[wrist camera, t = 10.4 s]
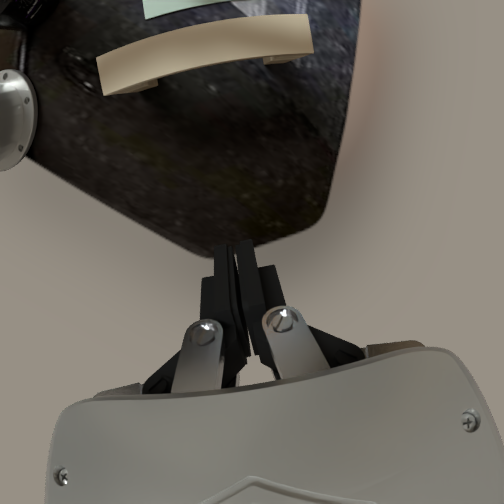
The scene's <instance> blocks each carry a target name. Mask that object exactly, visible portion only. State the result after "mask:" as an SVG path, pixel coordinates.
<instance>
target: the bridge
mask: <svg viewBox="0 0 504 504" xmlns="http://www.w3.org/2000/svg"><path fill="white" fill-rule="evenodd" d="M312 53H314V51H313V44H312V38H311V32H310V27H309V21H308V16H307V14H284V15H265V16H253V17H243V18H235V19H228V20H221V21H215V22H210V23H204V24H199V25H195V26H190V27H186V28H182V29H178V30H174V31H170V32H166V33H163V34H159V35H156V36H153V37H149V38H146V39H143V40H140V41H137V42H134V43H132V44H129V45H126V46H123V47H121V48H118V49H116V50H113V51H111V52H108V53H106V54H104V55H101V56H99V57H97V58H96V59H97V65H98V70H99V75H100V80H101V85H102V90H103V94H104V96H105V95H113V94H121V93H130V92H139V91H142V90H146V89H149V88H152V87H155V86H158V81H157V79H158V78H161V77H165V76H168V75H172V74H176V73H180V72H184V71H188V70H192V69H196V68H201V67H206V66H211V65H216V64H221V63H227V62H234V61H240V60H247V59H255V58H263V62H264V65H266V64H276V63H286V62H288V61H291V60H294V59H297V58H300V57H303V56H306V55H309V54H312Z"/></svg>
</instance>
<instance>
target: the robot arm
mask: <svg viewBox="0 0 504 504" xmlns="http://www.w3.org/2000/svg"><path fill="white" fill-rule="evenodd" d="M37 117H38V105H37V98H36V93H35V90H34V87H33V85H32V83H31V81H30V79H29V78H28V77H27V76H26V75H25V74H24V73H22V72H21V71H19V70H14V69H10V70H3V71H0V171H6V170H8V169H10V168H12V167H14V166H15V165H17V164H18V163H19V162H20V161H21V160H22V159H23V158H24V157H25V155H26V154H27V152H28V150H29V148H30V146H31V144H32V141H33V138H34V135H35V131H36V126H37ZM236 255H237V263H238V270H237V266H236V262H235V257H234V253H233V248H232V246H230V247H227V244H223V245H218V246H214V276H210V277H204V278H202V284H201V304H200V320H199V321H197V322H195V323H193V324H192V325H190V327H189V328H188V329H187V330H186V333H185V336H184V339H183V343H182V348H181V350H180V351H179V352H177V353H176V354H175V355H174V356H173V357H172V358H171V359H170V360H168V361H167V362H166V363H165V364H164V365H163V366H162V367H161V368H160V369H159V370H157V371H156V372H155V373H154V374H153V375H152V376H151V377H149V378H148V379H147V381H146V382H145V383H144V384H142V385H141V384H140V383H135V384H131V385H127V386H123V387H119V388H115V389H110V390H106V391H102V392H100V393H97V394H96V395H95V396H94V397H93V398H89V399H85V400H82V401H79V402H76V403H74V404H72V405H70V406H68V407H67V408H65V409H64V410H63V411H62V413H61V414H60V416H59V418H58V420H57V422H56V425H55V428H54V432H53V436H52V440H51V444H50V450H49V456H48V462H47V471H46V483H45V485H46V486H45V504H504V446H503V443H502V439H501V436H500V434H499V431H498V429H497V426H496V423H495V421H494V419H493V416H492V414H491V412H490V409H489V407H488V405H487V403H486V400H485V399H484V396H483V394H482V392H481V391H480V389H479V387H478V385H477V383H476V381H475V380H474V378H473V376H472V375H471V373H470V372H469V370H468V369H467V367H466V366H465V365H464V363H463V362H462V361H461V360H460V359H459V357H457V356H456V355H455V354H454V353H453V352H451V351H449V350H446V349H443V348H438V347H425V346H424V345H423V344H422V343H420V342H418V341H413V340H409V341H401V342H392V343H383V344H372V345H367V346H366V348H359V347H358V346H356V345H354V344H352V343H349V342H347V341H345V340H342V339H340V338H337V337H335V336H333V335H330V334H328V333H325V332H323V331H321V330H318V329H316V328H313V327H311V326H309V325H307V324H306V322H305V320H304V319H303V317H302V315H301V313H300V312H299V311H298V310H297V309H295V308H293V307H290V306H286V303H285V300H284V296H283V292H282V289H281V285H280V282H279V279H278V275H277V271H276V268H275V265H269V266H264V267H259V268H258V267H257V262H256V258H255V252H254V247H253V243H252V239H250V240H244V241H240V245H236ZM238 273H239V274H238ZM247 327H248V328H247ZM248 331H249V335H250V339H251V342H252V346H253V350H254V354H255V355H259V357H260V361H261V363H262V364H264V365H266V366H268V367H270V368H271V371H272V374H273V377H274V379H275V381H270V382H265V383H259V384H253V385H247V386H239V380H240V375H239V371H240V370H241V369H242V368H243V367H244V366H245V365H246V364H247V357H250V356H251V351H250V343H249V336H248Z"/></svg>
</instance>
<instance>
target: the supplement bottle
mask: <svg viewBox="0 0 504 504" xmlns="http://www.w3.org/2000/svg"><path fill="white" fill-rule="evenodd" d="M58 3H59V0H0V29H4V30H15V31H30V30H32V29H35V28H36V27H38V26H40V25H41V24H42V23H43V22H45V21H46V20H47V19H48V18H49V17H50V15H51V14H52V13H53V11H54V10H55V8H56V7H57V5H58Z"/></svg>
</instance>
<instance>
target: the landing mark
mask: <svg viewBox="0 0 504 504" xmlns="http://www.w3.org/2000/svg"><path fill="white" fill-rule="evenodd" d="M225 1H232V0H143V6H144V13H145V19H146V20H147V19H150V18H153V17H156V16H160V15H163V14H167V13H170V12H174V11H178V10H182V9H187V8H191V7H196V6H201V5H206V4H212V3H218V2H225Z"/></svg>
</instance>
